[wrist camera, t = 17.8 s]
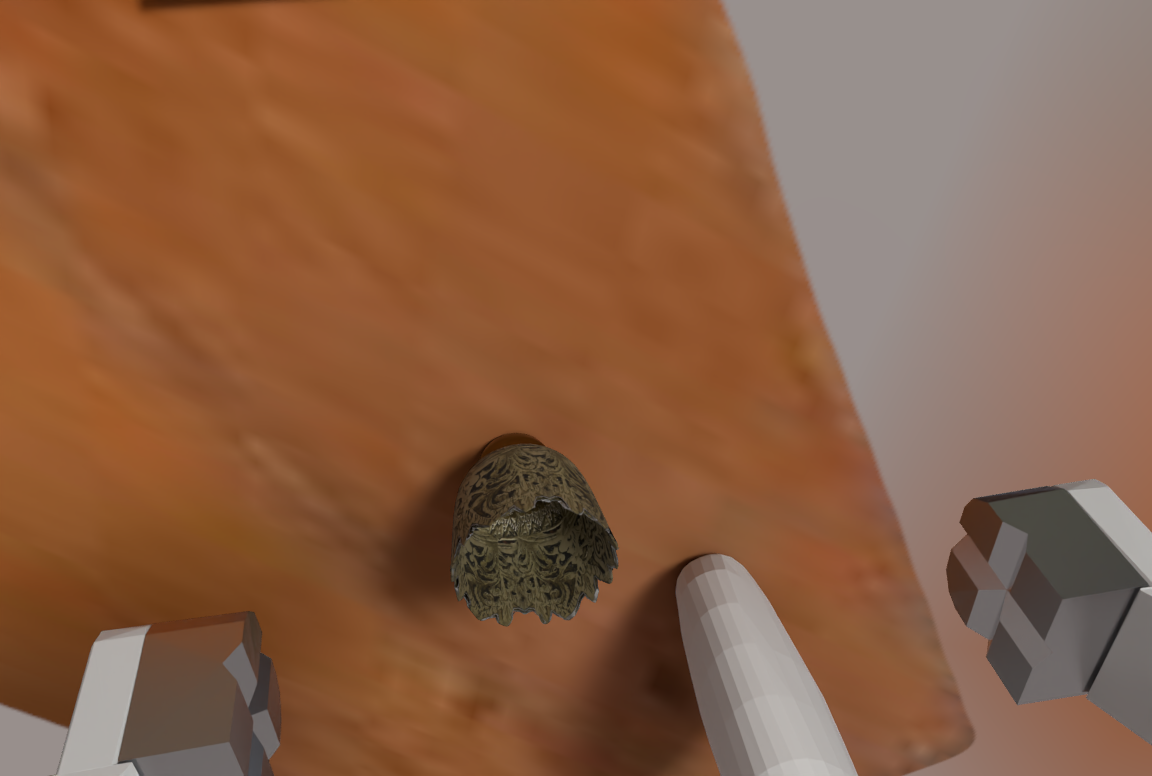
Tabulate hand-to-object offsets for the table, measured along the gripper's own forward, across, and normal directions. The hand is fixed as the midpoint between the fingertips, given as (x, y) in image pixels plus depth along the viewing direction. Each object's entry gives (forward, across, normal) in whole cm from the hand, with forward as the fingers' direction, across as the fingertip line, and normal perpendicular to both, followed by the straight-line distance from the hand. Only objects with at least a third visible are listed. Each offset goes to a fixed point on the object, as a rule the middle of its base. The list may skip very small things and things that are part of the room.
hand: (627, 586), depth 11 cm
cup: (+29, +1, -23) cm, 37 cm away
